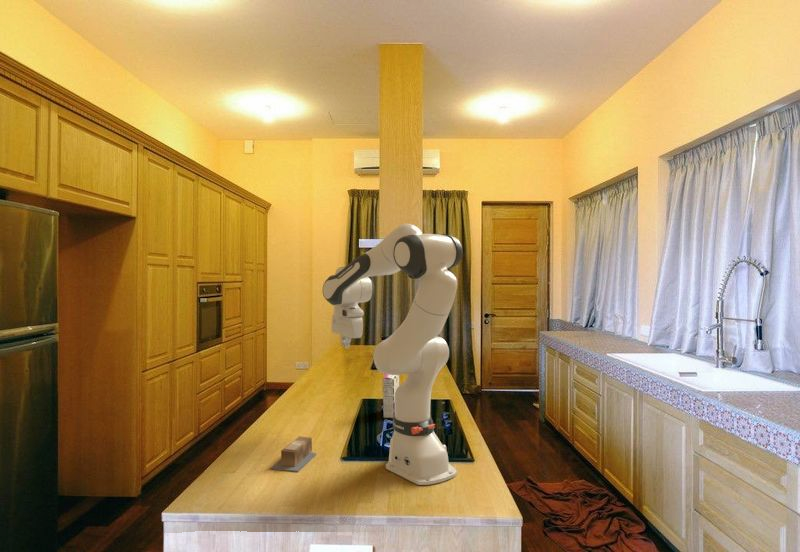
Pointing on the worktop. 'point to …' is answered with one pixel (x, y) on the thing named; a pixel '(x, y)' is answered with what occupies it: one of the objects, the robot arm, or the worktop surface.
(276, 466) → the mat
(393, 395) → the candy bar box
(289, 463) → the block
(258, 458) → the worktop surface
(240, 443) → the worktop surface
